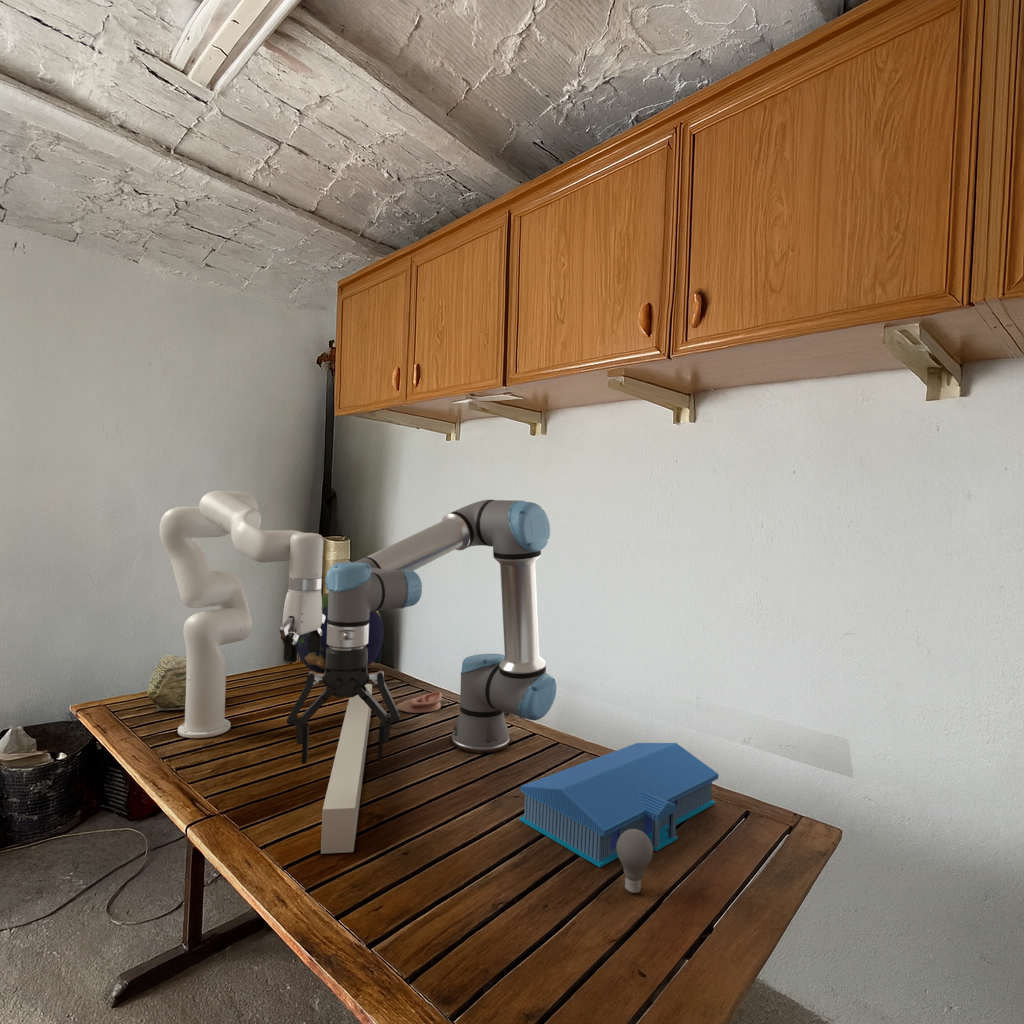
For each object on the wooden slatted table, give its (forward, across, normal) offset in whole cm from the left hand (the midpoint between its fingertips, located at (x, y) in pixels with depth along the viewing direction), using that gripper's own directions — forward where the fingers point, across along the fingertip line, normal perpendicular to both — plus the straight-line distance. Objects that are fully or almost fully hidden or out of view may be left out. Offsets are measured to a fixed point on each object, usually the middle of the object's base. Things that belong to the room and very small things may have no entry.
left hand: (302, 656), depth 151 cm
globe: (+25, -64, -27) cm, 74 cm away
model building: (+25, 0, +78) cm, 82 cm away
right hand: (+10, +27, +27) cm, 40 cm away
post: (+25, -2, +13) cm, 28 cm away
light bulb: (+25, +26, +81) cm, 88 cm away
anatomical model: (+25, -46, +11) cm, 53 cm away
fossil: (+25, -21, -52) cm, 61 cm away
